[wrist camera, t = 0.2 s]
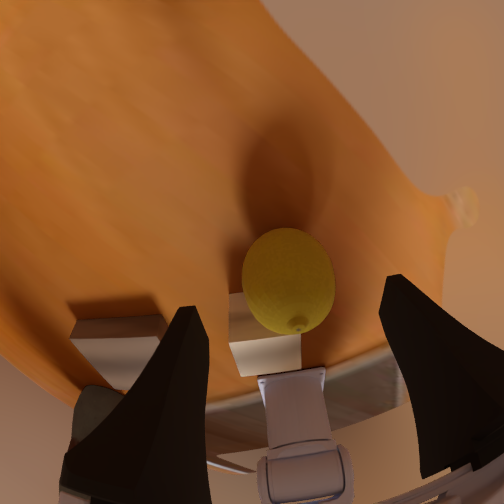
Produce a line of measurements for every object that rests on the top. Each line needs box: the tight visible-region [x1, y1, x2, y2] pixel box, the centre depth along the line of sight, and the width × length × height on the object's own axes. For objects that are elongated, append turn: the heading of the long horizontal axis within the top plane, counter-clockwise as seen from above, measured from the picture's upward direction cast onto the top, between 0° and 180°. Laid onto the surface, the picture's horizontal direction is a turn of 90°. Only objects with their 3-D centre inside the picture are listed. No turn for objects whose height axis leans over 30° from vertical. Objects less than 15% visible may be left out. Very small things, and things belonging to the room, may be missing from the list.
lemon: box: [242, 228, 336, 335], centre depth 17 cm, size 6×6×8 cm
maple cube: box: [229, 292, 301, 377], centre depth 22 cm, size 5×5×5 cm
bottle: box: [59, 385, 124, 500], centre depth 23 cm, size 9×9×30 cm
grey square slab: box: [69, 314, 168, 390], centre depth 26 cm, size 10×10×3 cm
